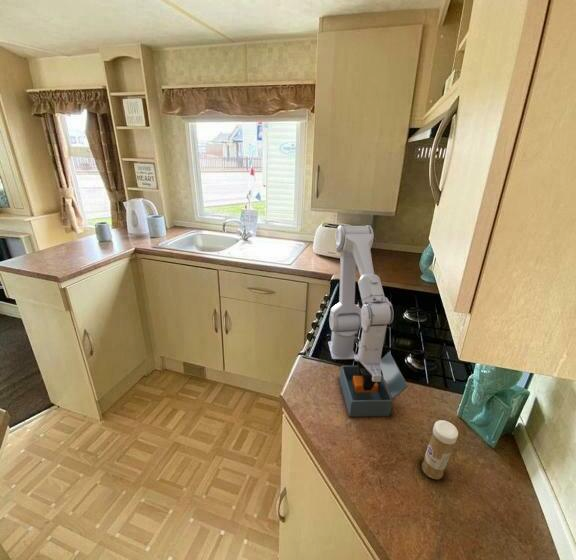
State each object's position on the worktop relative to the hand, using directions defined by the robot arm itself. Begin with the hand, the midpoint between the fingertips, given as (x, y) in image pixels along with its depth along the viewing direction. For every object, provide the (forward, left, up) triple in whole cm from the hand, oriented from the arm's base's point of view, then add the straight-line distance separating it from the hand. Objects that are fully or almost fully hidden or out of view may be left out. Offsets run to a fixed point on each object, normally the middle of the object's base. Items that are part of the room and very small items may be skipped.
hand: (365, 383), depth 87 cm
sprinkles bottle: (+22, +10, -5) cm, 25 cm away
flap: (0, +7, +3) cm, 8 cm away
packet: (0, 0, -1) cm, 1 cm away
